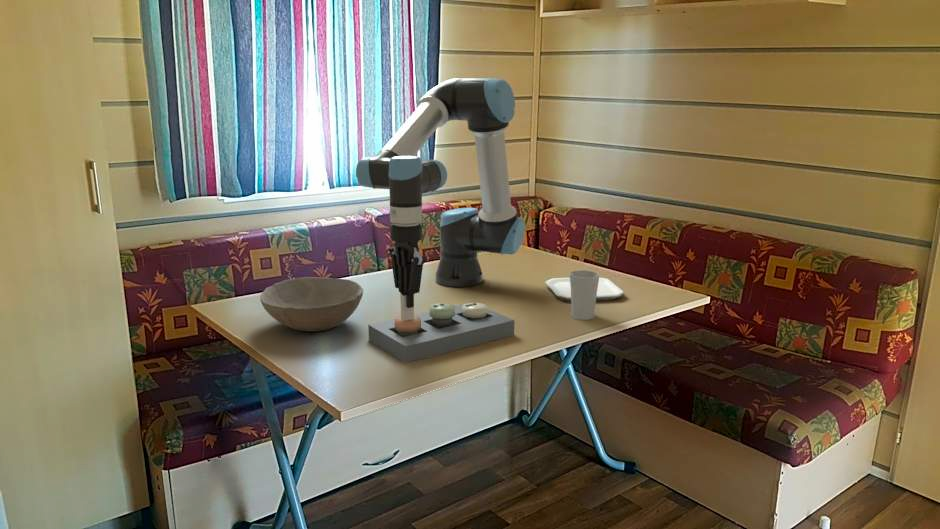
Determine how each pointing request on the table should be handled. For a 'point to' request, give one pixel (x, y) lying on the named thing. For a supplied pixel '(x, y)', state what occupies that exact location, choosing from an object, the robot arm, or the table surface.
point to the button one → (407, 326)
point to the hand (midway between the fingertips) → (407, 319)
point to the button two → (442, 314)
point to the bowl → (312, 302)
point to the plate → (604, 289)
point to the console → (440, 335)
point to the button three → (474, 311)
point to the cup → (583, 293)
